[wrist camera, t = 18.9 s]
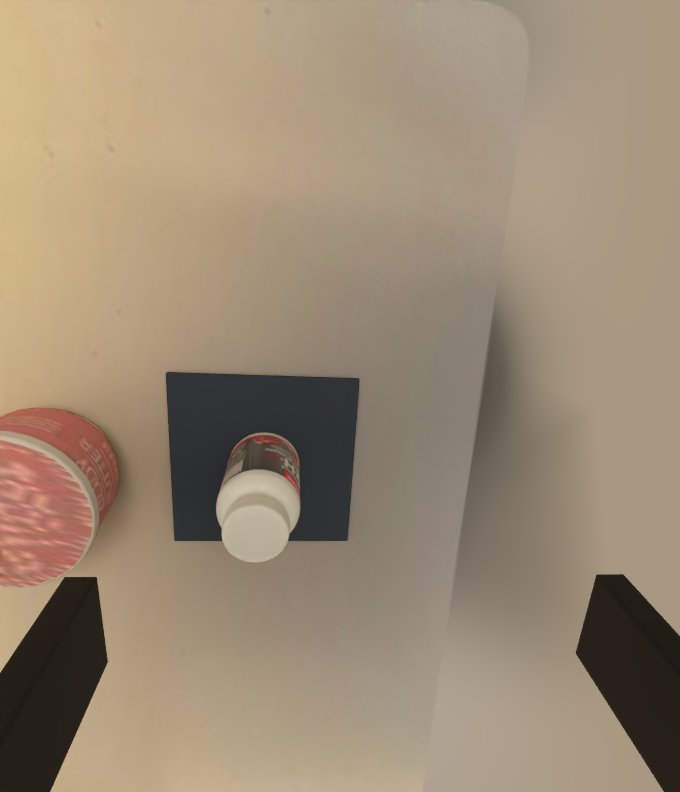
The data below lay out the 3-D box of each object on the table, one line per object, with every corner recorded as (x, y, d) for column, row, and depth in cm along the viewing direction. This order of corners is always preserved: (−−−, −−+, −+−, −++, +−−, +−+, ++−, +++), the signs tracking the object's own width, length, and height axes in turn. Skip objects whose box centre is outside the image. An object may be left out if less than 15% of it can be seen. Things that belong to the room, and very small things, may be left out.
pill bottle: (312, 450, 38) (318, 520, 29) (277, 503, 40) (272, 587, 30) (250, 417, 37) (236, 479, 28) (216, 473, 38) (191, 551, 29)
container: (2, 371, 35) (-80, 410, 27) (151, 420, 37) (114, 469, 29) (-26, 495, 37) (-107, 562, 30) (114, 534, 40) (71, 606, 32)
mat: (358, 378, 37) (359, 379, 37) (346, 538, 42) (347, 540, 41) (167, 371, 36) (165, 373, 35) (175, 538, 40) (174, 541, 40)
